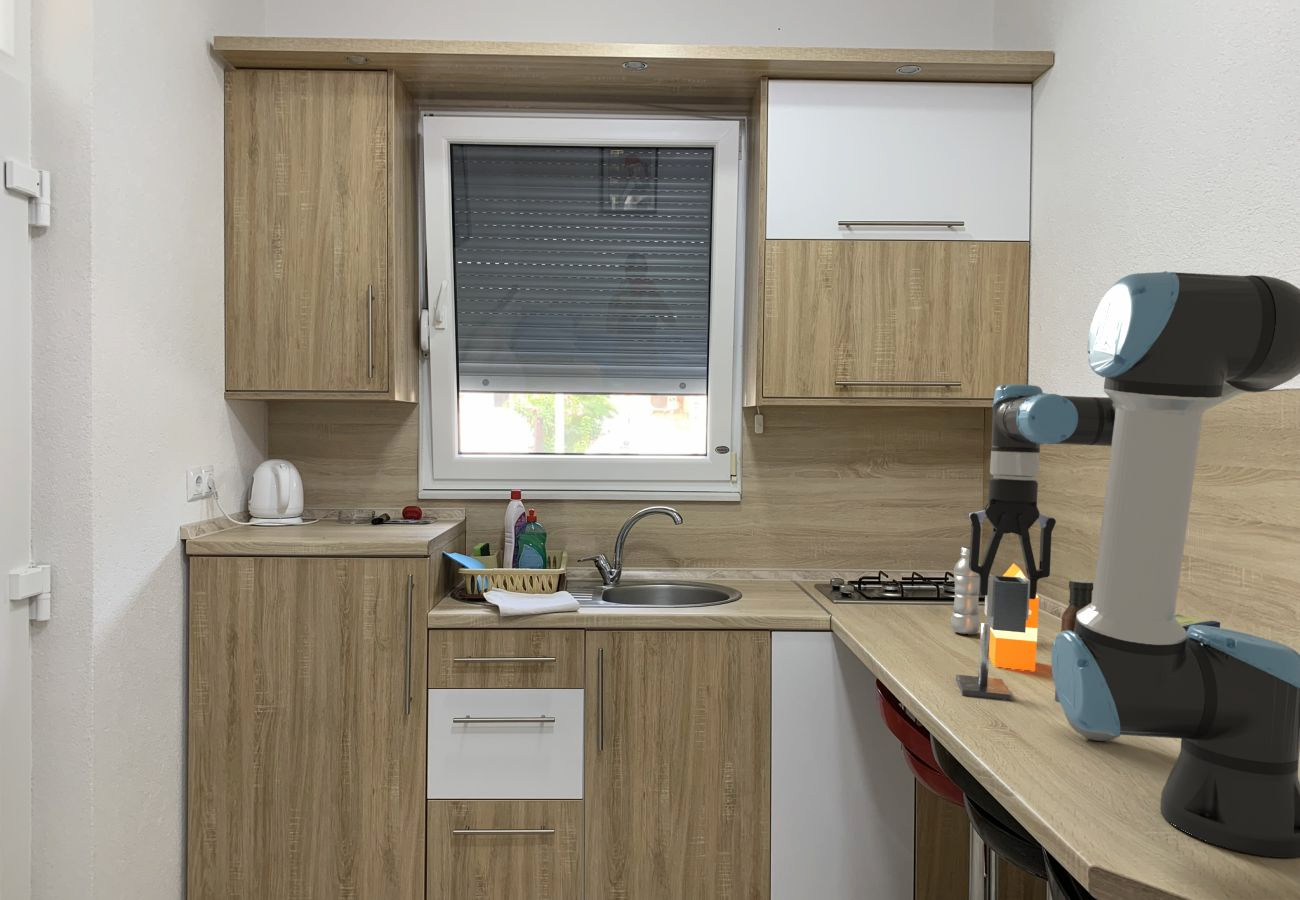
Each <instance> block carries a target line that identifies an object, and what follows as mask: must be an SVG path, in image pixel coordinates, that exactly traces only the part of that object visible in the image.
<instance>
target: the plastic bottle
mask: <svg viewBox="0 0 1300 900" xmlns="http://www.w3.org/2000/svg"><path fill="white" fill-rule="evenodd" d="M959 555H960V556H961V558H959V560H958V561H957V562H956V563H955V565H954V566H953V567H954V568H953V580H954V601H953V609H952V613H951V618H950V628H951V629H952V631H953V632H955V633H958V634H961V635H964V634H968V635H975V634H977V633H978V632H979V631H980V628H981V619H980V615H979V614H980V613H979V612H980V611H979V610H980V609H979V597H980V596H979V595H980V592H979V582H980V575H979V574H978V573H975V572H973V571H971V570H970V568H969V555H970V546H962V547H960V554H959ZM978 565H979V566H981V564H980V563H979V564H978Z"/></svg>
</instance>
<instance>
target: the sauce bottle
mask: <svg viewBox="0 0 1300 900" xmlns="http://www.w3.org/2000/svg"><path fill="white" fill-rule="evenodd" d="M1068 589H1069V599H1068V603H1069V605H1068V606H1067V608H1066V609H1065V610H1064V612H1063V614H1061V615H1062V616H1061V629H1060V633H1061V632H1065V631H1067V630H1071V631H1072V632H1073V631H1074V628H1075V621H1076V614H1077V612H1078V611H1079V610H1081V609H1082V608H1084V607H1085V606H1087V605H1089V604H1090V603H1091V602H1092V598H1093V590H1094V582H1093V581H1091V580H1085V579H1070V580H1069V581H1068Z"/></svg>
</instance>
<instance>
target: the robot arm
mask: <svg viewBox="0 0 1300 900" xmlns="http://www.w3.org/2000/svg"><path fill="white" fill-rule="evenodd" d="M1087 354H1088V355H1089V356H1088V363H1089V366H1090V369H1091V370H1092V371H1093V372H1094V373H1095V374H1096V375H1098V376H1100V377H1101V378H1104V383H1103V392H1104V393H1105V394H1106V395H1107V397H1102V396H1101V397H1100V396H1080V395H1079V396H1077V395H1076V396H1075V395H1073V396H1072V395H1060V394H1058V393H1046V392H1043V389H1042V388H1041V386H1039V385H1032V384H1002V385H998V386H997V387H996V388H995V390H994V395H993V403H992V406H991V407H992V409H991V410H992V426H991V428H992V429H991V443H990V444H991V445H990V446H991V450H990V465H989V473H990V475H992V476H993V477H991V478H990V479H989V481H988V482H989V483H988V496H987V497H988V500H987V504H986V505H985V508H984V510H981V511H975V512H973V511H971V512H969V513H968V519H969V522H970V525H971V528H970V529H971V530H970V541H969V542H970V543H969V547H970V555H969V568H970V570H971V571H973V572H975V573H978V574H979V575H980V582H979V595H980V596H984V597H985V598H984V615H985V616H986V617H987V616H988V617H991V616H992V597H993V579H994V578H993V577H992V576H991V575H992V574H990V572H991V570H992V567H993V564H994V561H995V558H996V555H997V552H998V549H999V547H1000V543H1001V541H1002V539H1003V536H1004V534H1015V535H1018V539H1019V543H1020V547H1021V548H1020V549H1021V552H1022V557H1023V561H1024V565H1025V571H1026V575H1027V577H1026V578H1022V579H1023V580H1024V581H1025V582H1026V583H1028V595H1027V613H1026V620H1028V615H1029V599H1035V598H1036V594H1037V589H1038V581H1039V580H1040V579H1044V578H1048V577H1049V576H1050V574H1051V553H1052V533H1053V530H1054V527H1055V525H1056V524H1057V520H1056V519H1055V518H1054V517H1051V516H1046V515H1043V514H1041V513H1040V510H1039V508H1038V504H1037V503H1038V490H1039V488H1038V487H1039V486H1038V485H1039V483H1038V481H1037V480H1036V479H1035V478H1037V477H1039V473H1040V472H1039V471H1040V470H1039V469H1040V452H1041V449H1040V448H1041V445H1044V444H1045V445H1068V446H1069V445H1070V446H1071V445H1072V446H1075V445H1076V446H1096V447H1097V446H1098V447H1099V446H1100V447H1110V453H1109V454H1110V455H1109V461H1108V471H1107V479H1106V485H1105V486H1106V487H1105V494H1104V501H1103V503H1104V504H1103V510H1102V511H1103V512H1102V519H1101V527H1100V532H1099V533H1100V535H1099V543H1098V548H1097V549H1098V551H1097V559H1096V567H1095V574H1094V582H1093V590H1092V602H1091V603H1090V604H1089V605H1087V606H1085V607H1084V608H1082V609H1081V610H1079V611H1078V612H1077V614H1076V621H1075V628H1074V631H1073V632H1072V631H1071V630H1067V631H1065V632H1061V631H1060V632H1059V633H1058V634H1057V635H1056V636H1055V639H1054V640H1053V643H1052V646H1051V657H1050V658H1051V671H1052V678H1053V679H1052V680H1053V685H1054V687H1055V689H1056V692H1057V695H1058V698H1059V701H1060V702H1059V704H1060V706H1061V707H1062V710H1063V712H1064V714H1065V713H1066V715H1067V716H1068V718H1069V719H1070V720H1071V722H1072V723H1073V724H1075V725H1076V726H1077V727H1078V728H1080V729H1082V730H1085V731H1089V732H1098V733H1107V734H1109V735H1112V736H1119V735H1120V736H1132V737H1134V736H1135V737H1148V738H1149V737H1151V738H1167V739H1168V738H1169V739H1181V741H1180V751H1179V755H1178V757H1177V758H1176V761H1175V762H1174V765H1173V767H1172V768H1171V771H1170V773H1169V775H1168V777H1167V780H1166V782H1165V784H1164V786H1163V788H1162V790H1161V793H1160V807H1159V811H1160V810H1161V812H1160V814H1161V813H1162V814H1161V816H1162V815H1163V816H1164V817H1165V818H1166V819H1167V820H1168V821H1169V822H1171V823H1172V824H1174V825H1176V827H1178V828H1180V829H1182V830H1184V831H1186V832H1188V833H1190V834H1192V835H1194V836H1196V837H1198V838H1201V839H1203V840H1206V841H1208V842H1207V843H1209V842H1211V843H1210V844H1212V843H1213V844H1212V845H1215V844H1217V845H1216V846H1218V845H1219V846H1218V847H1221V846H1223V847H1222V848H1224V847H1225V849H1228V850H1233V851H1235V852H1240V851H1241V852H1242V853H1245V854H1250V855H1254V856H1262V855H1263V857H1271V856H1272V857H1271V858H1295V857H1300V778H1299V764H1300V763H1299V759H1300V653H1299V652H1297V650H1295V649H1293V648H1292V647H1290V646H1288V645H1286V644H1283V643H1280V642H1277V641H1273V640H1271V639H1267V638H1263V637H1261V636H1256V635H1253V634H1248V633H1246V632H1241V631H1237V630H1232V629H1227V628H1222V627H1220V628H1218V627H1212V626H1206V625H1191V626H1190V627H1189V628H1188V631H1187V632H1186V630H1185V629H1184V628H1183V627H1182V626H1181V625H1180V623H1179V622H1178V621H1177V620H1176V619H1175V617H1174V615H1175V614H1176V607H1177V599H1178V593H1179V585H1180V578H1181V571H1182V564H1183V563H1182V562H1183V557H1184V556H1183V555H1184V550H1185V549H1184V548H1185V542H1186V536H1187V534H1186V533H1187V528H1188V521H1189V515H1190V514H1189V513H1190V508H1191V507H1190V506H1191V499H1192V493H1193V488H1194V487H1193V485H1194V478H1195V471H1196V465H1197V464H1196V463H1197V458H1198V457H1197V456H1198V450H1199V441H1200V435H1201V429H1202V421H1203V416H1204V415H1203V414H1204V413H1205V412H1206V411H1208V410H1210V409H1212V408H1214V407H1216V406H1218V405H1221V404H1222V403H1224V402H1226V401H1229V400H1230V399H1233V398H1235V397H1236V396H1240V395H1242V394H1243V393H1250V394H1251V393H1263V392H1267V391H1269V390H1272V389H1274V388H1277V387H1278V386H1281V385H1283V384H1286V383H1287V382H1289V381H1291V380H1292V379H1294V378H1295V377H1297V376H1298V375H1300V288H1299V287H1297V286H1296V285H1294V284H1292V283H1291V282H1288V281H1286V280H1283V279H1280V278H1277V277H1273V276H1267V275H1266V276H1265V275H1253V274H1250V275H1236V274H1233V275H1232V274H1210V273H1195V272H1194V273H1193V272H1191V273H1190V272H1175V271H1160V272H1143V273H1141V272H1140V273H1139V272H1137V273H1132V274H1128V275H1126V276H1123V277H1121V278H1120V279H1118V280H1117V281H1116V282H1114V283H1113V285H1112V286H1110V287H1109V289H1108V290H1107V292H1106V293H1105V295H1104V296H1103V297H1102V298H1101V300H1100V302H1099V304H1098V306H1097V308H1096V310H1095V312H1094V315H1093V318H1092V321H1091V324H1090V329H1089V332H1088V338H1087ZM985 518H987V519H988V521H989V522H990V523H991V526H993V527H992V528H993V529H992V532H991V534H990V539H989V541H988V545H987V548H986V551H985V553H984V556H983V559H982V562H981V564H980V560H979V559H980V549H981V548H980V547H981V533H982V532H981V531H982V529H981V528H982V527H981V525H983V524H984V522H985ZM1037 521H1038V527H1039V528H1041V529H1040V535H1039V539H1040V540H1039V543H1040V544H1039V563H1038V566H1039V567H1038V569H1037V565H1036V562H1035V558H1034V557H1035V556H1034V553H1033V548H1032V543H1031V537H1030V536H1031V535H1030V532H1029V530H1030V529H1031V527H1032V526H1033V525H1034V524H1035V522H1037ZM978 564H980V566H979V565H978ZM1187 637H1188V638H1187ZM1120 736H1119V737H1120ZM1163 816H1162V817H1163ZM1164 817H1163V818H1164ZM1165 818H1164V819H1165ZM1166 819H1165V820H1166ZM1167 820H1166V821H1167ZM1168 821H1167V822H1168ZM1169 822H1168V823H1169ZM1172 824H1171V825H1172ZM1176 827H1175V828H1176ZM1178 828H1177V829H1178ZM1180 829H1179V830H1180ZM1194 836H1193V837H1194ZM1196 837H1195V838H1196ZM1198 838H1197V839H1198ZM1201 839H1200V840H1201ZM1203 840H1202V841H1203ZM1206 841H1205V842H1206Z"/></svg>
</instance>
